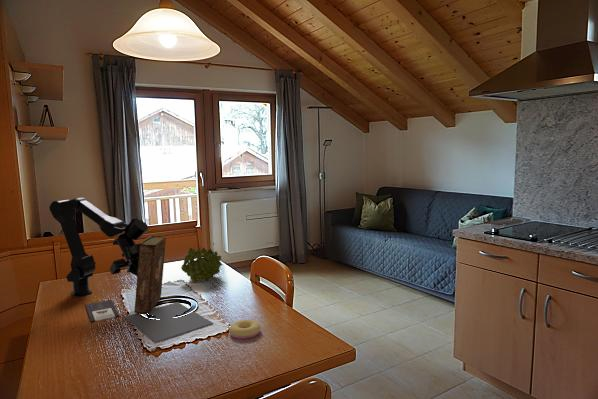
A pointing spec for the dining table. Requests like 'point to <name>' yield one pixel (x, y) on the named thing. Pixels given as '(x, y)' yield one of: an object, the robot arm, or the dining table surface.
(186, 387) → the dining table surface
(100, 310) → the chocolate bar
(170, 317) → the mat
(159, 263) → the book
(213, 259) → the green leafy plant
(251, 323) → the donut
